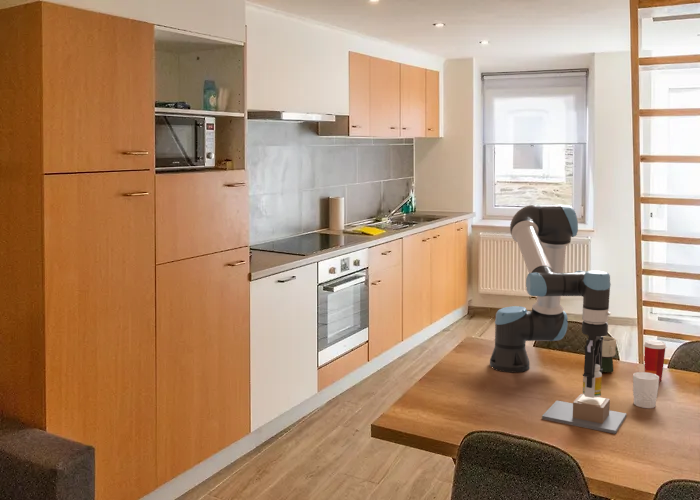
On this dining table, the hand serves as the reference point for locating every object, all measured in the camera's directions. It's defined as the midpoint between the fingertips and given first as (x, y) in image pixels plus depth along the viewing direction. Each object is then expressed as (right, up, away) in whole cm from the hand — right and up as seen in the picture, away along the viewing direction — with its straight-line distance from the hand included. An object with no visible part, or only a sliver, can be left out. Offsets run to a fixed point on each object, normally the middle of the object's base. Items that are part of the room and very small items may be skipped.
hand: (591, 393), depth 212 cm
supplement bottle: (0, -1, 0) cm, 0 cm away
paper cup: (+36, -3, +38) cm, 53 cm away
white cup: (+22, -7, +13) cm, 26 cm away
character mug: (+22, -2, +47) cm, 52 cm away
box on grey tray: (-2, -8, +2) cm, 8 cm away
